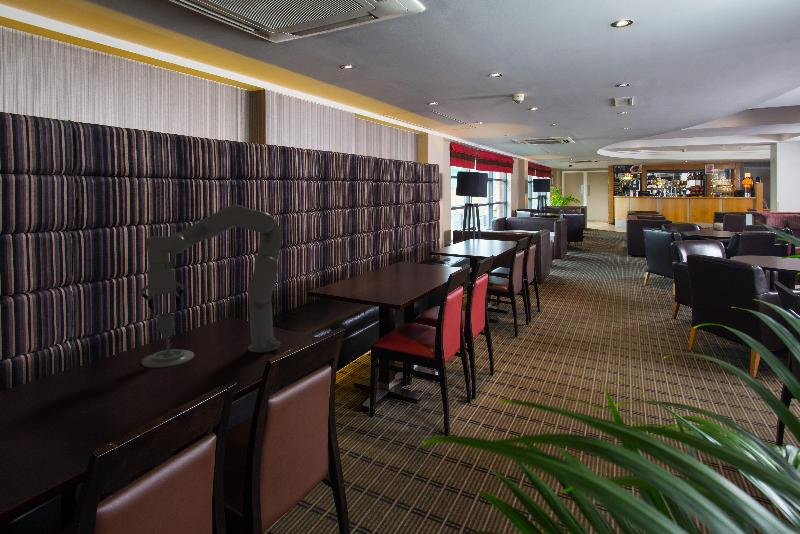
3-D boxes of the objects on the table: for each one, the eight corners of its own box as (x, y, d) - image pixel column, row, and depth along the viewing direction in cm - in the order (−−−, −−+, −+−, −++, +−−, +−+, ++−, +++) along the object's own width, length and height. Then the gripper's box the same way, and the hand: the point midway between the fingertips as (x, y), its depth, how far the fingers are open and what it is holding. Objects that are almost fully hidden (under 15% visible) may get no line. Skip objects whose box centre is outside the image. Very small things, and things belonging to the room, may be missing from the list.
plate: (204, 354, 217) (204, 348, 216) (168, 369, 198) (167, 364, 198) (168, 350, 224) (167, 345, 223) (130, 364, 205) (129, 359, 205)
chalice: (181, 354, 214) (177, 313, 211) (173, 360, 207) (169, 317, 205) (165, 354, 215) (161, 313, 212) (156, 360, 208) (151, 317, 205)
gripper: (182, 263, 212) (187, 303, 215) (136, 267, 205) (141, 308, 208) (183, 265, 205) (187, 306, 208) (135, 270, 198) (140, 312, 201)
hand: (164, 307), depth 208 cm, fingers open, 9 cm apart
